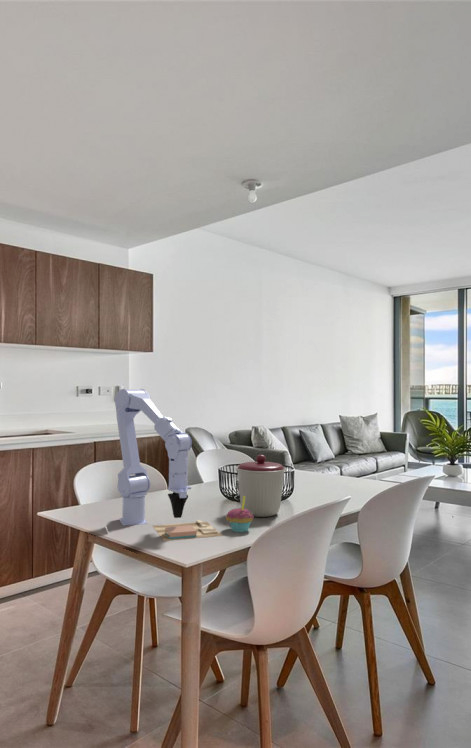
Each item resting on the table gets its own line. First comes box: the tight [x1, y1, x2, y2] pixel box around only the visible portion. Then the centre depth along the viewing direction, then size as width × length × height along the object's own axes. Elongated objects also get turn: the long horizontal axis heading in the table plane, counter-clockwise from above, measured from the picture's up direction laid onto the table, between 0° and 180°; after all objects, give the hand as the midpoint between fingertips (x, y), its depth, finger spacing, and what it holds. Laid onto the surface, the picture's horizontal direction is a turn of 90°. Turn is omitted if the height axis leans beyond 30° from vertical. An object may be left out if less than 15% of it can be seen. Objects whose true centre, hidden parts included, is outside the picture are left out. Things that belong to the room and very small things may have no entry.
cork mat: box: [152, 521, 224, 542], centre depth 164 cm, size 18×18×1 cm
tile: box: [165, 525, 197, 539], centre depth 159 cm, size 2×8×7 cm
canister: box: [235, 454, 287, 518], centre depth 190 cm, size 18×18×21 cm
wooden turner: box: [195, 519, 219, 534], centre depth 168 cm, size 14×4×1 cm, turn 19°
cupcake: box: [225, 494, 255, 533], centre depth 166 cm, size 9×8×12 cm
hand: (177, 517), depth 163 cm, fingers closed
